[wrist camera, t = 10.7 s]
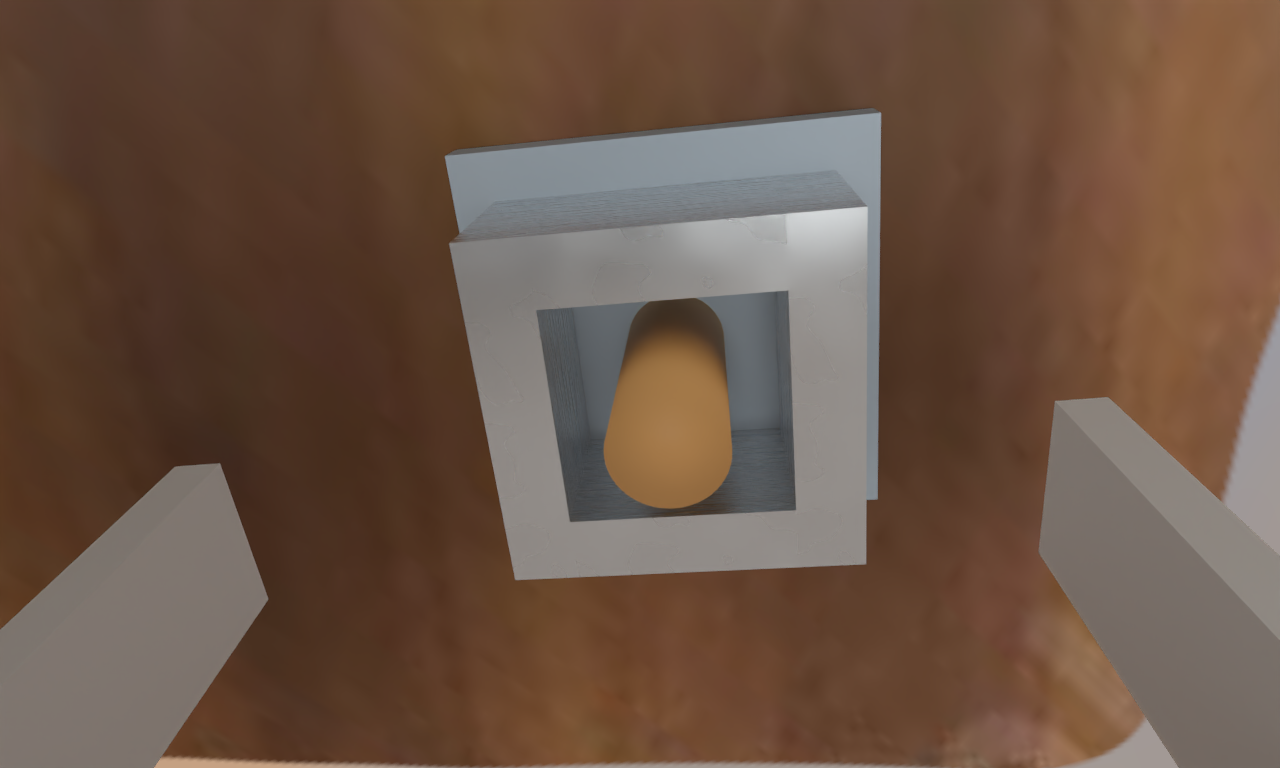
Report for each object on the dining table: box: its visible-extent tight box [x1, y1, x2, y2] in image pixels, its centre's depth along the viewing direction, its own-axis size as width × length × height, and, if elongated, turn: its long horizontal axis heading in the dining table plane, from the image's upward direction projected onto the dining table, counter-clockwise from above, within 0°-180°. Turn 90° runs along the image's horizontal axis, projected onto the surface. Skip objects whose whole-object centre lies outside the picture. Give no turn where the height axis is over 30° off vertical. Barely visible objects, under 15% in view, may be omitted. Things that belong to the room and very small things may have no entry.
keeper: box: [445, 108, 881, 509], centre depth 19 cm, size 10×10×7 cm
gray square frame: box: [449, 170, 868, 580], centre depth 19 cm, size 8×8×4 cm
